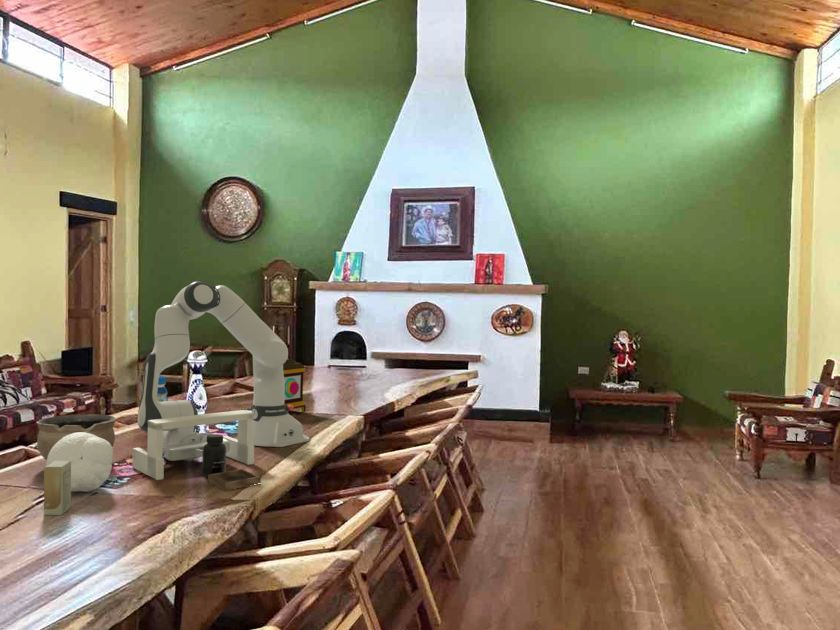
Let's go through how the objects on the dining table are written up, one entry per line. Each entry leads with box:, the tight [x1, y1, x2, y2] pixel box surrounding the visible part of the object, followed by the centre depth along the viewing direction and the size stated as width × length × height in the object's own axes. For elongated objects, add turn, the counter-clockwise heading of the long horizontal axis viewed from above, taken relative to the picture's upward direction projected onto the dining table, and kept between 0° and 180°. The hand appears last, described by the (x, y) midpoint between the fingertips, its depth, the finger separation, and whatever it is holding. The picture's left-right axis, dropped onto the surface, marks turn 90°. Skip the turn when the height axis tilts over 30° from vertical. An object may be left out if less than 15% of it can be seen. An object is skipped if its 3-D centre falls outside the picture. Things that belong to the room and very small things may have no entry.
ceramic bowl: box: [35, 414, 117, 462], centre depth 223 cm, size 22×22×15 cm
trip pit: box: [207, 468, 262, 491], centre depth 210 cm, size 11×11×2 cm
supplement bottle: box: [201, 433, 227, 478], centre depth 218 cm, size 7×7×12 cm
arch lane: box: [132, 409, 255, 481], centre depth 228 cm, size 32×18×16 cm, turn 133°
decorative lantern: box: [250, 356, 307, 413], centre depth 324 cm, size 20×20×30 cm
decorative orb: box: [46, 432, 114, 493], centre depth 198 cm, size 20×18×16 cm
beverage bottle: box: [157, 374, 169, 402], centre depth 287 cm, size 8×8×20 cm
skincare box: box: [43, 461, 72, 516], centre depth 180 cm, size 6×4×12 cm
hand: (209, 454), depth 221 cm, fingers closed
